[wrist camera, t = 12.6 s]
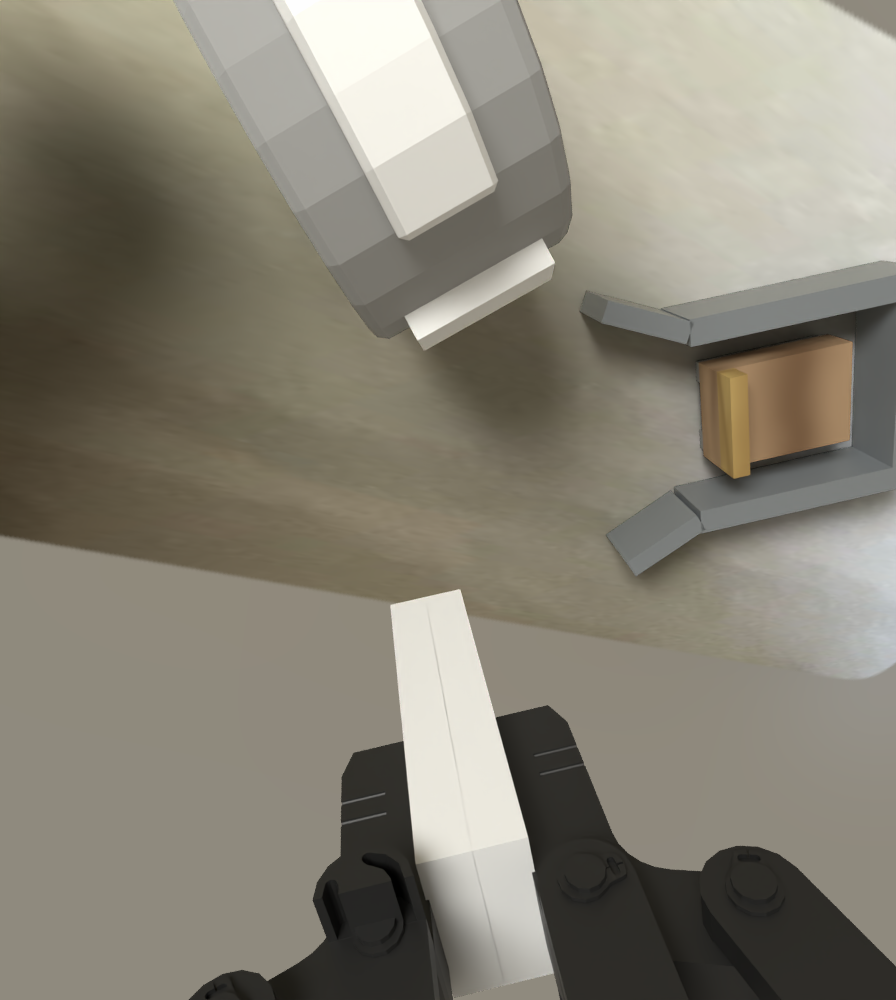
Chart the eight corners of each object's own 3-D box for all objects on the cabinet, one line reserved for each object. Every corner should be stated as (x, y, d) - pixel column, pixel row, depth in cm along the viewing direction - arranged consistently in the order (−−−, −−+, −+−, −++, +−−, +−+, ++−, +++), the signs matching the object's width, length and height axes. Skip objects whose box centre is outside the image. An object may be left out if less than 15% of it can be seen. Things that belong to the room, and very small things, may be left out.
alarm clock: (192, -21, 35) (17, -250, 17) (349, -119, 34) (349, -473, 16) (384, 320, 42) (411, 425, 24) (518, 244, 42) (653, 290, 23)
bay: (607, 549, 50) (628, 578, 46) (577, 292, 43) (599, 302, 39) (871, 488, 50) (912, 512, 47) (883, 226, 44) (932, 230, 40)
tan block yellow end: (696, 450, 48) (733, 478, 43) (691, 358, 45) (729, 378, 41) (817, 423, 48) (866, 448, 44) (818, 331, 46) (870, 347, 41)
